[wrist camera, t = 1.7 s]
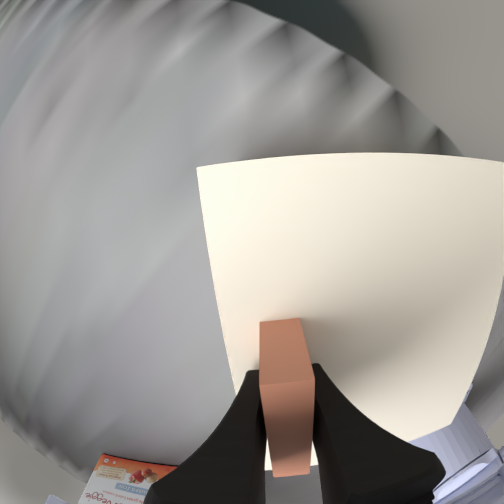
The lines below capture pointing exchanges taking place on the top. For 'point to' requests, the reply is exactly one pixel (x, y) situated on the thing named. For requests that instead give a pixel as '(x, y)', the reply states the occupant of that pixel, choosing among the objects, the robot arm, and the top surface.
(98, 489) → the cracker box
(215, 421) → the top surface
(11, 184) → the top surface
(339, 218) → the lid
